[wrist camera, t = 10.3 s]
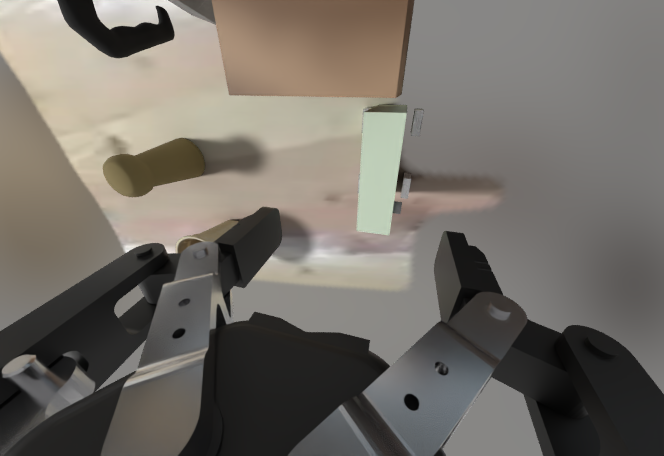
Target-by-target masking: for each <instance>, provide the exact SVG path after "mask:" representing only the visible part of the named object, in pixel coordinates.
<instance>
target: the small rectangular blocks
mask: <svg viewBox="0 0 664 456" xmlns="http://www.w3.org/2000/svg"><path fill="white" fill-rule="evenodd" d="M369 109H371V108H368V107H367V108H364V109H363V116H364V112H365V111H367V110H369ZM423 112H424V110H423V109H415V111H414V117H413V123H412V129H411V136H419V134H420V129H421V123H422V118H423ZM362 132H363V123H362ZM359 182H360V174H359ZM359 182H358V193H359ZM410 183H411V173H405V172H404V177H403V183H402V189H401V198H406V199H408V194H409V188H410Z"/></svg>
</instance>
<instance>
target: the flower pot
mask: <svg viewBox="0 0 664 456" xmlns="http://www.w3.org/2000/svg"><path fill="white" fill-rule="evenodd" d="M238 222H239V221H233V220H228V221H225V222H224V223H221V224H219V225H217V226H215V227H213V228H211V229H209V230H207V231H204V232H202V233H200V234H195V235H192V236H185V237H183V238H181V239H179V240H178V242H177V244H176V253H182V251H183V250H184V249H186V248H187V247H189V246H191V245H193V244H196V243H199V242H206V241H209V242H214V241H215V240H217V239H218V238H219V237H220V236H222V235H223V234H224V233H226V232H227V231H228V230H229V229H231V228H232V227H233V226H234V225H237V223H238Z"/></svg>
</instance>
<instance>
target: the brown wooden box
mask: <svg viewBox="0 0 664 456" xmlns="http://www.w3.org/2000/svg"><path fill="white" fill-rule="evenodd" d="M212 5H213V10H214V16H215V21H216V27H217V32H218V37H219V43H220V48H221V53H222V59H223V64H224V69H225V75H226V80H227V86H228V91H229V95H250V96H316V97H382V98H396V97H398V96H400V95H401V94H402V87H403V80H404V72H405V65H406V58H407V50H408V43H409V35H410V28H411V21H412V14H413V6H414V0H212Z"/></svg>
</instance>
